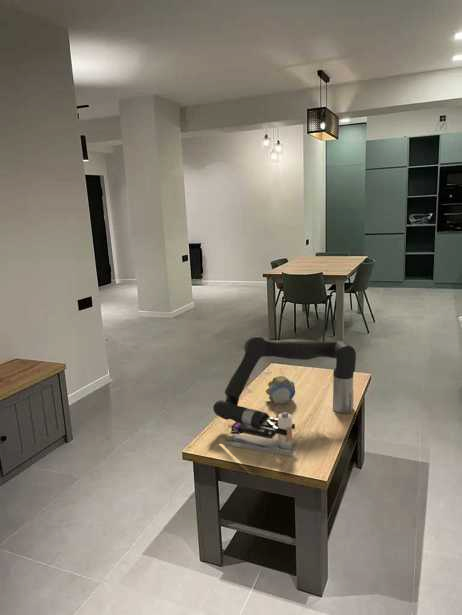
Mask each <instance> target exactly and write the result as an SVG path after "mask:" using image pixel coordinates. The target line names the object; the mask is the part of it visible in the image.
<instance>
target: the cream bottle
mask: <svg viewBox="0 0 462 615" xmlns="http://www.w3.org/2000/svg"><path fill="white" fill-rule="evenodd" d="M277 415H278V428H281V429H285V430H287V435H286V436H284V435H281V434H277V441H278V448H281V449H287V450H292V444H293V429H292V423H293V416H292V414H290V413H289V412H286V411H283V412H281V413H280V414H277Z"/></svg>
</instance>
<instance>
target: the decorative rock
mask: <svg viewBox="0 0 462 615" xmlns="http://www.w3.org/2000/svg"><path fill="white" fill-rule="evenodd" d="M267 386H268V388H267V389H266V390H265V393H266V394H267V395H268V399H269V401H271V402H274V403H275V404H277V405H281V404H282V405H286V404H288V403H290V402H291V400H293V398H294V396H296V386H295V383H294V381H291V380H290V379H289V378H287V377H286V376H284V375H279V376H276V377H273V378H272V380H271V381H269V382H268V383H267Z"/></svg>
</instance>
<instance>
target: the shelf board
mask: <svg viewBox="0 0 462 615" xmlns="http://www.w3.org/2000/svg"><path fill="white" fill-rule="evenodd" d="M229 438H230V439H229V440H235V441H240V442H246V443H252V444H258V445H263V446H269V447H275V448H278V440H273V439H267V438H261V437H255V436H249V435H242V434H239V433H233V434H232V435H231V437H229ZM226 446H227V447H230V446H229V445H226ZM297 446H298V444H297V443H292V456H293V454H294V452H295V450H296V449H297ZM231 447H234V448H236V447H235V446H231ZM237 448H239V449H241V448H240V447H237ZM243 449H246V448H243ZM246 450H247V449H246ZM248 450H250V451H252V450H251V449H248ZM254 451H255V452H258V451H257V450H254ZM259 452H261V453H264V452H263V451H259ZM265 453H266V454H269V453H268V452H265ZM271 454H274V453H271ZM274 455H275V454H274ZM276 455H278V456H280V455H279V454H276ZM282 456H285V455H282ZM292 456H287V457H289V458H292ZM285 457H286V456H285Z"/></svg>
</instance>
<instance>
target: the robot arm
mask: <svg viewBox="0 0 462 615" xmlns="http://www.w3.org/2000/svg"><path fill="white" fill-rule="evenodd" d="M243 348H244V352H245V353H244V355H243V358H242V360H241V362H240V364H239V366H238V367H237V369H236V370H235V372H234V374H233V375H232V377H231V378H230V380H229V383H228V384H227V385H226V388H225V391H224V394H225V395H226V400H224V399H222V400H217V401H215V403H214V404H213V408H212V410H213V412H214V414H215V415H216V416H217V417H220V418H222V419H223V420H231V421H234V423H235V422H237V423H240V424H243V425H246V426H248V427H251V428H254V429H257V430H260V433H263V434H267V435H272V436H273V435H274V436H275V435H278V434H281V435H284V436H286V435H287V430H285V429H281V428H278V415H279V414H276V415H275V417H272V416H270V415H269V414H268V413H267V412H265V411H261V410H258V409H254V408H248V407H245V406H240V405H239V400H240V397H241V395H242V393H243V392H244V389H245V386H246V385H247V382H248V381H249V378H250V376H251V375H252V372H253V370H254V368H255V367H256V366H257V363H258V362H259V361H260V360H261V359H262V358H263V357H276V358H283V359H290V360H300V361H301V360H303V361H306V360H308V361H309V360H311V359H315V358H320V357H321V358H324V357H325V358H331V359H335V360H336V365H335V368H334V369H333V372H332V373H333V376H332V378H333V379H332V387H333V388H332V410H333V411H334V412H336V413H339V414H352V412H353V409H354V395H355V394H354V391H355V389H354V374H355V371H356V363H357V362H356V360H357V353H356V350H355V348H354V346H352V345H350V344H349V343H348V342H346V341H343V340H336V341H319V340H311V339H309V340H307V339H298V338H297V339H291V338H290V339H281V340H271V339H270V340H268V339H265V338H263V337H262V336H259V335H256V336H252V337H250V338H249V339H247V340H246V341H245V343H244V346H243ZM295 425H296V424H295V423H293V422H292V430H295V428H296V426H295ZM269 431H270V432H271V433H270V432H269ZM274 436H273V437H274Z"/></svg>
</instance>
